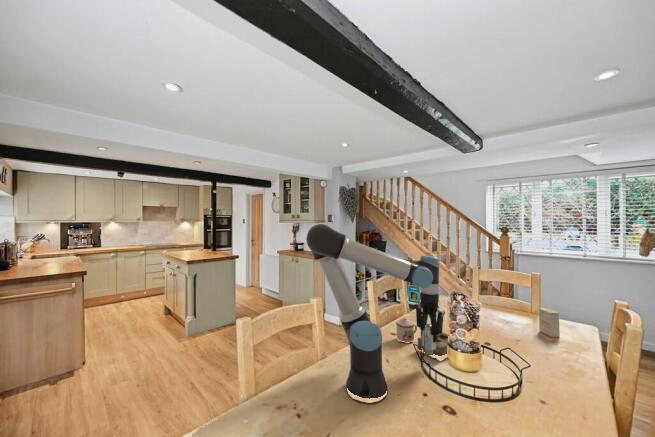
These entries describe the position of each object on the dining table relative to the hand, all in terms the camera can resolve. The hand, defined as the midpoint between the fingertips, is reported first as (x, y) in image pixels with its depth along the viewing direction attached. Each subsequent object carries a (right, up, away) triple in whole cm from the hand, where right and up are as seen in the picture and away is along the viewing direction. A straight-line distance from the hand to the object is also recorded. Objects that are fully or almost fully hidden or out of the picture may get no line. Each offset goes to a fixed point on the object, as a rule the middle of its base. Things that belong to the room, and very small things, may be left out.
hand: (428, 347), depth 113 cm
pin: (0, -3, 0) cm, 3 cm away
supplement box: (+77, -8, +30) cm, 83 cm away
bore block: (+10, -8, +13) cm, 19 cm away
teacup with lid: (-1, -9, +26) cm, 28 cm away
